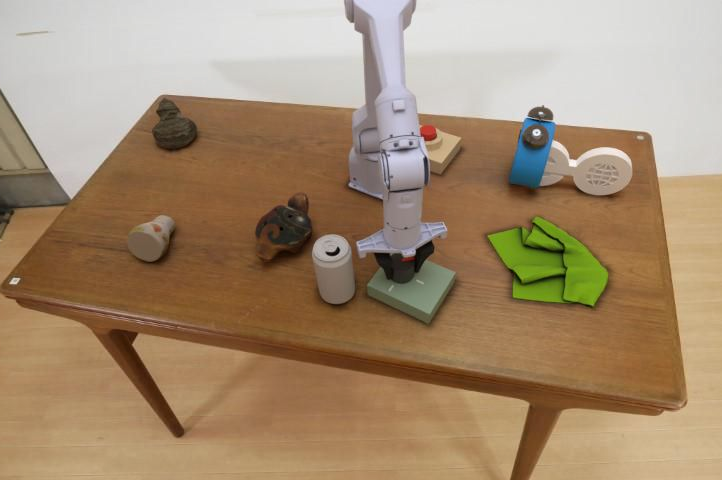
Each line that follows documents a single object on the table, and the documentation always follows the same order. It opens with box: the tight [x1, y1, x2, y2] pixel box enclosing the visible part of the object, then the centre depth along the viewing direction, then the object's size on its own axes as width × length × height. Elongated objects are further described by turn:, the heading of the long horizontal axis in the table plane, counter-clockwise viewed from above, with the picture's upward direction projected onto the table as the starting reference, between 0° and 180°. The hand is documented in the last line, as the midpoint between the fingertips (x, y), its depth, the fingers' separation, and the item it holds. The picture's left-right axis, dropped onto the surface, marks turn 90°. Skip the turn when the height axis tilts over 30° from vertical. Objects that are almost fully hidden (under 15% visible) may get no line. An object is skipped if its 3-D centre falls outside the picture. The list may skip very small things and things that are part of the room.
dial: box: [391, 253, 415, 284], centre depth 82 cm, size 4×4×4 cm
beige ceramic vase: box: [125, 214, 176, 262], centre depth 92 cm, size 8×10×10 cm
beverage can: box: [311, 233, 356, 305], centre depth 81 cm, size 6×6×12 cm
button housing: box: [419, 124, 462, 175], centre depth 107 cm, size 12×10×5 cm
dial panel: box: [366, 253, 457, 325], centre depth 84 cm, size 12×10×3 cm
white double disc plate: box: [539, 139, 633, 196], centre depth 96 cm, size 22×2×10 cm, turn 73°
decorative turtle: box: [254, 191, 313, 263], centre depth 90 cm, size 10×15×8 cm, turn 155°
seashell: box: [151, 97, 198, 150], centre depth 112 cm, size 11×12×10 cm
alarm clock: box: [508, 104, 557, 193], centre depth 96 cm, size 13×6×15 cm, turn 160°
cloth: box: [486, 216, 610, 307], centre depth 87 cm, size 20×22×2 cm
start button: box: [420, 124, 437, 141], centre depth 104 cm, size 4×4×2 cm
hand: (401, 271), depth 83 cm, fingers closed on dial, 4 cm apart
